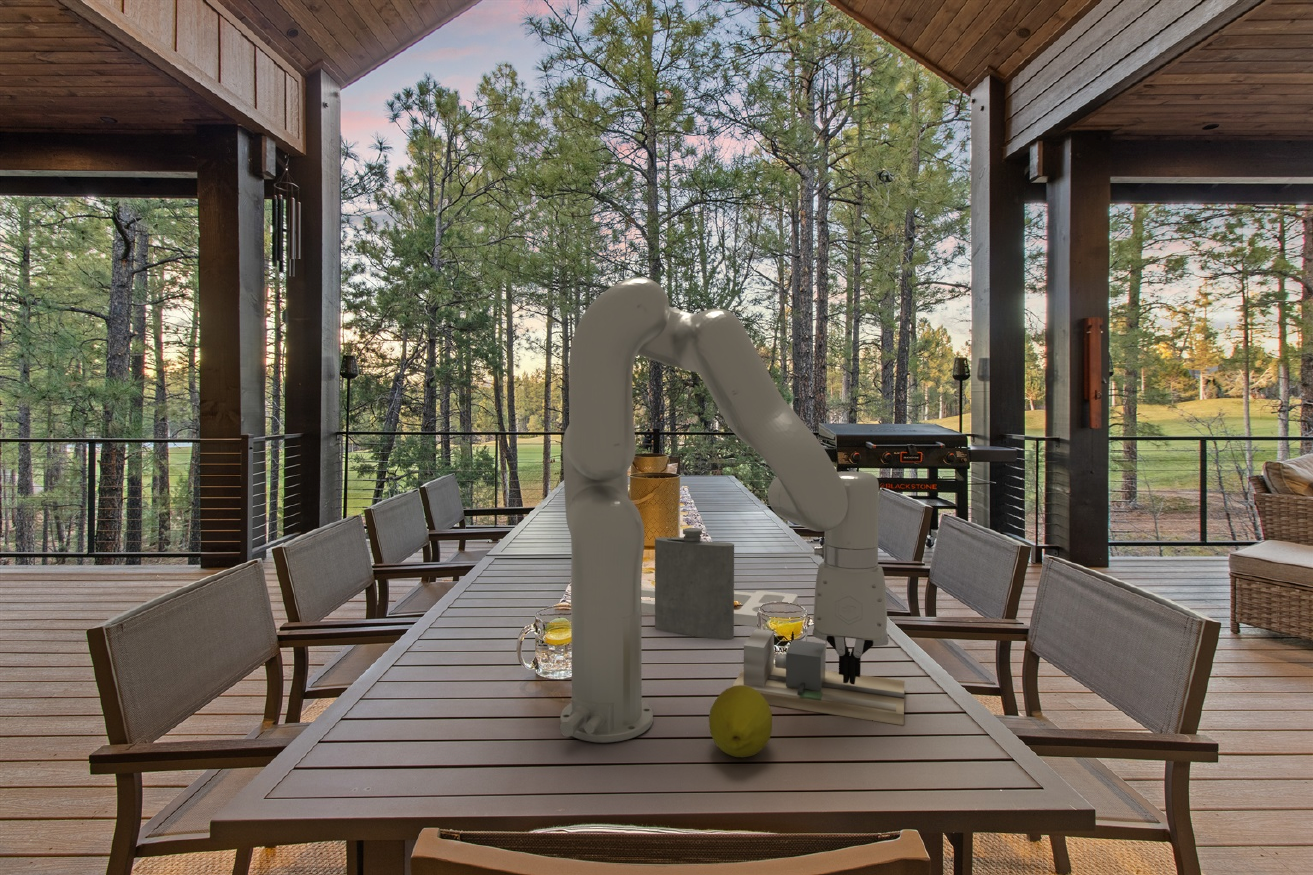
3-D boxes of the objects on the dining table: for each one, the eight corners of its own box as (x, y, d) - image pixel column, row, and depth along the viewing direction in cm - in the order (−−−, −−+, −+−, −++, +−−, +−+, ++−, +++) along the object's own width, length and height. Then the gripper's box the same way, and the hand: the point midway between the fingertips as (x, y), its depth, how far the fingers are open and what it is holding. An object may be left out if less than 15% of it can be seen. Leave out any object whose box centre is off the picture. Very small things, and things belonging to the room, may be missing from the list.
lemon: (722, 728, 91) (722, 669, 90) (780, 739, 88) (781, 679, 87) (695, 768, 81) (695, 702, 81) (759, 782, 78) (759, 714, 77)
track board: (903, 725, 92) (904, 670, 91) (730, 698, 100) (730, 648, 100) (904, 690, 103) (905, 641, 103) (748, 669, 111) (748, 624, 111)
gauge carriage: (817, 700, 95) (817, 665, 95) (767, 692, 98) (768, 658, 98) (825, 675, 104) (825, 643, 104) (779, 669, 106) (779, 638, 106)
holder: (575, 607, 148) (575, 595, 148) (611, 586, 164) (610, 575, 164) (781, 632, 131) (781, 618, 131) (797, 606, 148) (797, 594, 148)
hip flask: (736, 635, 128) (736, 529, 127) (729, 642, 124) (729, 533, 123) (659, 624, 134) (658, 523, 134) (650, 630, 131) (650, 527, 130)
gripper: (795, 558, 98) (794, 683, 99) (905, 566, 93) (903, 698, 94) (802, 548, 105) (801, 664, 106) (905, 555, 100) (903, 677, 101)
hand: (849, 679), depth 100 cm, fingers closed
